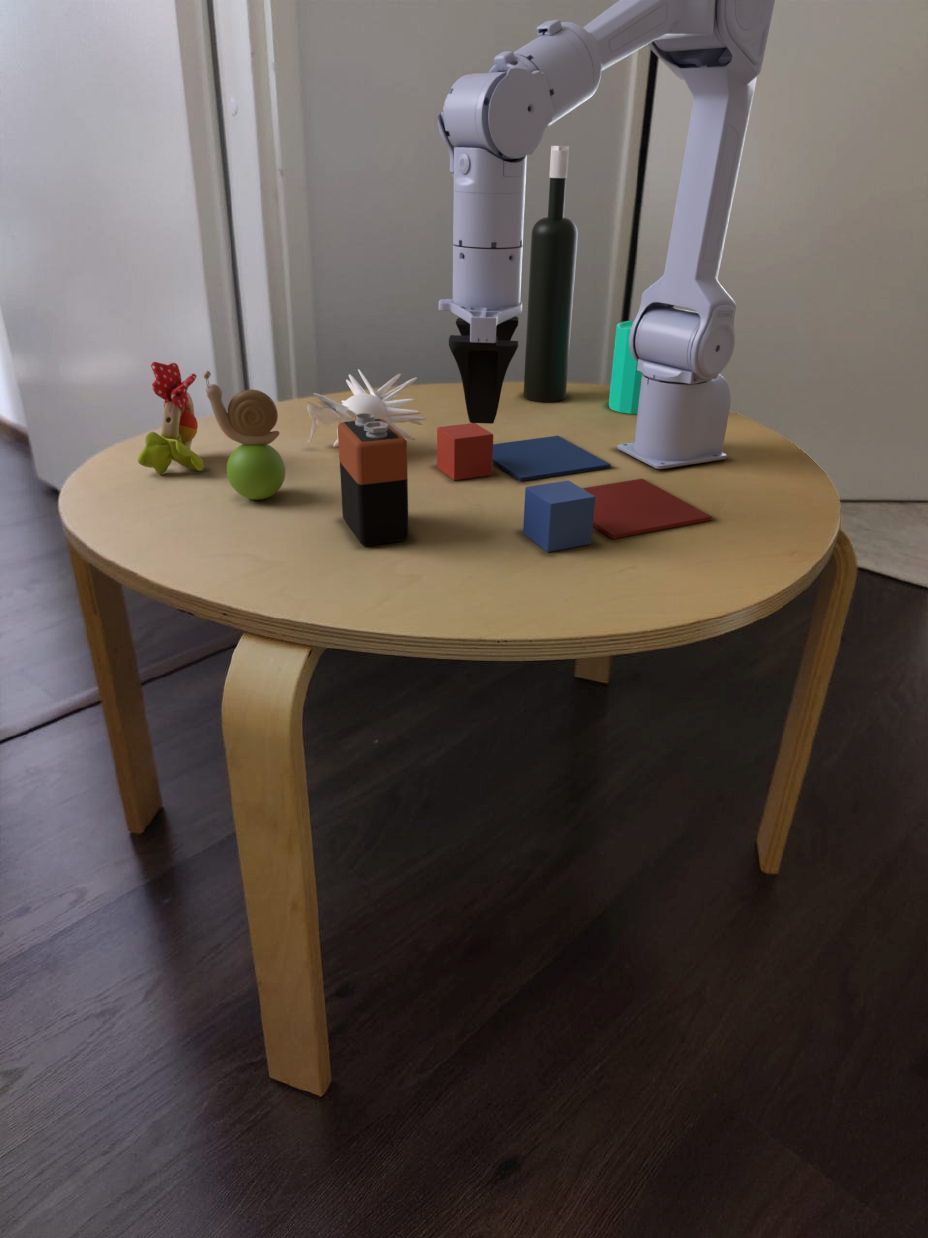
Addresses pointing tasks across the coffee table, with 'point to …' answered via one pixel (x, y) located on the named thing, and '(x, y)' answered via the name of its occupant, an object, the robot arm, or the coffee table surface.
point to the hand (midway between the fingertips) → (483, 409)
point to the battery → (373, 480)
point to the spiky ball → (365, 407)
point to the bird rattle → (172, 422)
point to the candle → (624, 373)
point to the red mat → (639, 509)
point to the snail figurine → (250, 441)
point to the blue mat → (544, 458)
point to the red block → (464, 451)
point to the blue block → (558, 515)
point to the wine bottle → (551, 292)
